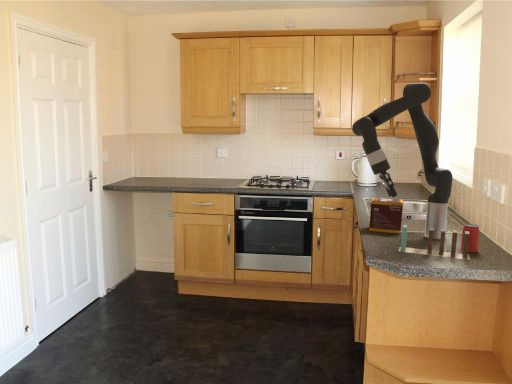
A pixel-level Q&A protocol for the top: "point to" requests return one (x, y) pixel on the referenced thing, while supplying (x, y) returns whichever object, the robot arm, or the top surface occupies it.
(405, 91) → the robot arm
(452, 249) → the walnut domino
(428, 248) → the walnut domino
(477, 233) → the beer can
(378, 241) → the top surface
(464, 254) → the walnut domino
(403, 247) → the teal domino
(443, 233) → the walnut domino
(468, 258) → the birch board
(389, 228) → the supplement box
